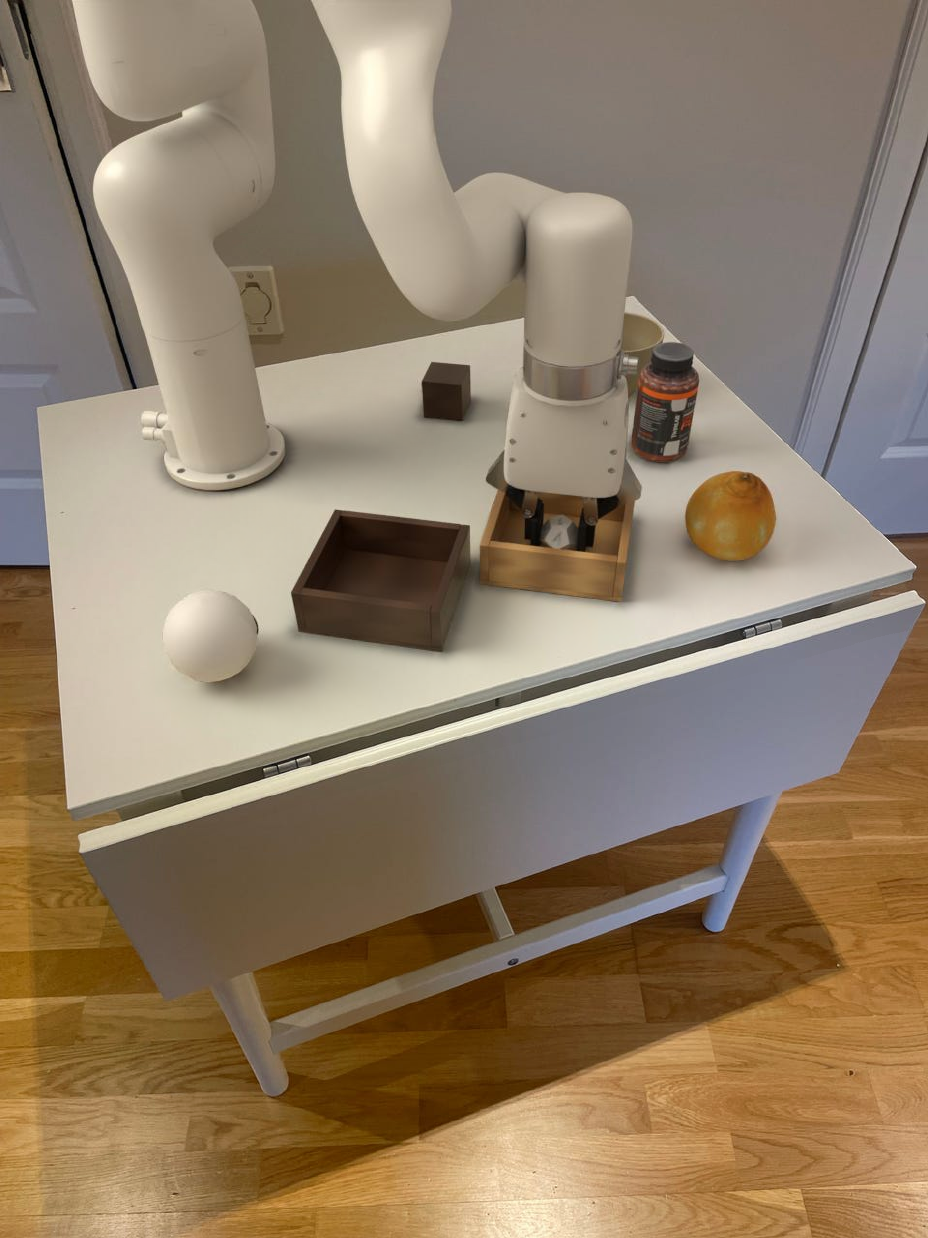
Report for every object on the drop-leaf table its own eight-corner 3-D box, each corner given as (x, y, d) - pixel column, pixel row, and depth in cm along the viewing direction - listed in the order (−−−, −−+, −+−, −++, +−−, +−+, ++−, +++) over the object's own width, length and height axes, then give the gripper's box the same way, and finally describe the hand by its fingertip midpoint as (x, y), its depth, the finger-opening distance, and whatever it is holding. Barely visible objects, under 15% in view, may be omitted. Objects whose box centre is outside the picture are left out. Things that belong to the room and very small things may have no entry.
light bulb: (278, 680, 74) (262, 614, 68) (188, 713, 71) (165, 648, 66) (241, 606, 80) (224, 541, 75) (157, 635, 78) (134, 569, 73)
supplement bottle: (686, 467, 94) (704, 367, 86) (628, 462, 95) (640, 362, 87) (687, 436, 98) (704, 338, 90) (632, 431, 99) (644, 334, 91)
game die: (580, 537, 85) (582, 512, 83) (575, 562, 83) (577, 536, 80) (543, 533, 86) (544, 507, 84) (536, 557, 83) (537, 532, 81)
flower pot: (662, 409, 102) (670, 350, 97) (573, 410, 103) (577, 352, 98) (650, 366, 110) (657, 309, 105) (567, 367, 110) (570, 310, 105)
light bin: (480, 584, 82) (479, 544, 78) (503, 507, 90) (504, 469, 87) (621, 602, 79) (626, 562, 76) (632, 522, 88) (637, 483, 84)
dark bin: (298, 631, 78) (290, 592, 74) (340, 547, 86) (334, 508, 83) (441, 652, 75) (439, 612, 72) (470, 563, 84) (470, 524, 80)
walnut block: (423, 417, 102) (421, 381, 99) (433, 396, 105) (431, 361, 102) (462, 421, 101) (461, 384, 98) (470, 400, 105) (470, 364, 102)
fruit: (797, 557, 80) (789, 466, 78) (708, 574, 79) (697, 483, 77) (760, 544, 88) (751, 461, 86) (678, 560, 87) (668, 477, 85)
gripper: (679, 352, 73) (652, 533, 85) (477, 335, 76) (479, 513, 88) (675, 399, 67) (646, 585, 80) (457, 380, 70) (462, 562, 83)
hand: (558, 545), depth 84 cm, fingers closed on game die, 3 cm apart
